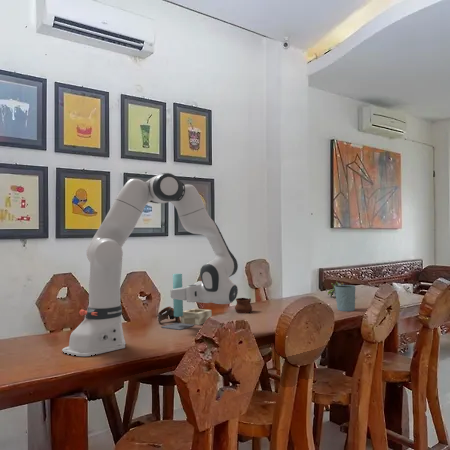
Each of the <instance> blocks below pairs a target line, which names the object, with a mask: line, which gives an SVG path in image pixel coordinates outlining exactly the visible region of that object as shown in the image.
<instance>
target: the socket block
mask: <svg viewBox="0 0 450 450" xmlns="http://www.w3.org/2000/svg"><path fill="white" fill-rule="evenodd" d="M212 311H213V310H212V309H205V308H197V307H196V308H195V307H193V308H191V309H187V310H183V316H181V317H180V321H181V322H180V323H184V324H192V325H194V326H199V325H204V324H205V323H204V322H205V321H206V320H207V319H208V318H209V317H212V318H213V314H212V313H213V312H212Z"/></svg>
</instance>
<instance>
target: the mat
mask: <svg viewBox="0 0 450 450" xmlns="http://www.w3.org/2000/svg"><path fill="white" fill-rule="evenodd" d="M194 326H195V325H194V324H186V323H181V322H180V323H179V322H173V323H169V324H167V325H162V326H161V327H160V328H161V329H166V330H167V329H170V330H176V331H177V330H178V331H181V330H185V329H187V328H192V327H194Z"/></svg>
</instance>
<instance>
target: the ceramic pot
mask: <svg viewBox="0 0 450 450" xmlns="http://www.w3.org/2000/svg"><path fill="white" fill-rule="evenodd" d="M235 301H236V305H234V306H235V307H234V310H235V312H236V313H237V314H250V313H249V312H251V313H252V310H253V306H252V304H251V301H252V298H247V297H236V299H235Z"/></svg>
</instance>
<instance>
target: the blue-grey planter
mask: <svg viewBox="0 0 450 450" xmlns="http://www.w3.org/2000/svg"><path fill="white" fill-rule="evenodd" d="M335 293H336V296H335V301H336V308H337V309H338V310H337V311H339V310H340V312H354V311H356V285H352V284H349V285H348V284H345V285H338V286H335Z"/></svg>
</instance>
